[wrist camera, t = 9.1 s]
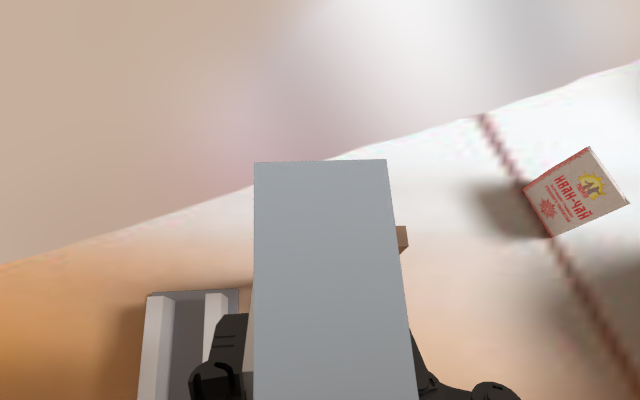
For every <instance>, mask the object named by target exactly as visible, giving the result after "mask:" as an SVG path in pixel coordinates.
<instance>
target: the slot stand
mask: <svg viewBox="0 0 640 400" xmlns="http://www.w3.org/2000/svg"><path fill="white" fill-rule="evenodd" d="M238 313H239V289H238V288H231V289H211V290H191V291H171V292H152V297H147V305H146V315H145V325H144V335H143V345H142V355H141V365H140V375H139V385H138V395H137V400H191V398H190V393H189V387H188V379H189V377H190V374H191V373H192V372H193V371H194V369H195V368H196V367H197V366H199V365H201V364H202V363H204V362H206V361H208V357H209V353H210V349H211V344H212V340H213V336H214V331H215V327H216V324H217V323H218V322H219V320H220V319H221V318H222V317H223V315H224V314H238Z"/></svg>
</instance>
